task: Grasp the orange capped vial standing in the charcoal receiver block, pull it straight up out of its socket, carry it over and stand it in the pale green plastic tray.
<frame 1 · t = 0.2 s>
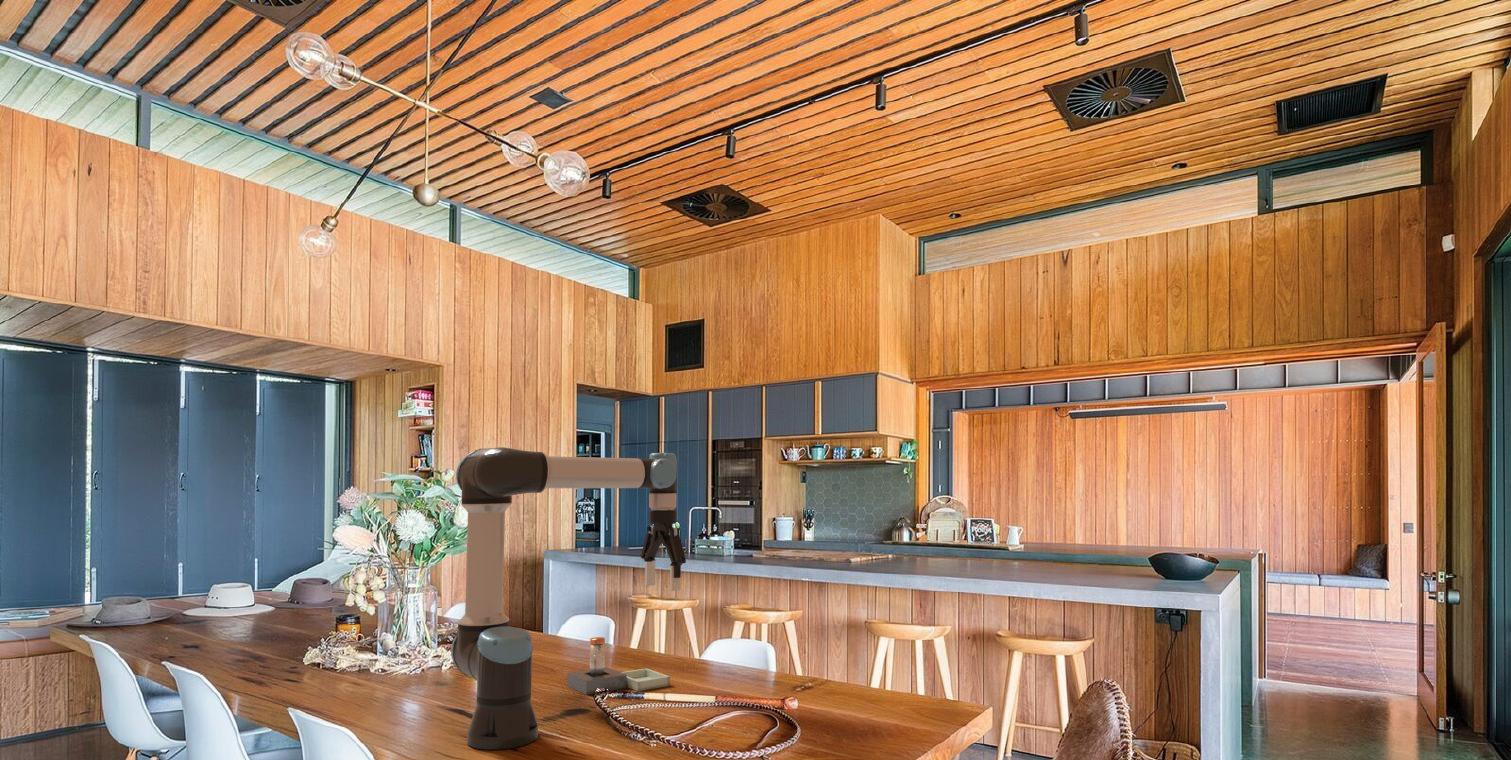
hand: (662, 587, 231), 27 cm above the table, fingers open, 13 cm apart
orange capped vial: (597, 662, 234), in the receiver block
tray: (642, 684, 236), on the table
receiver block: (596, 686, 233), on the table
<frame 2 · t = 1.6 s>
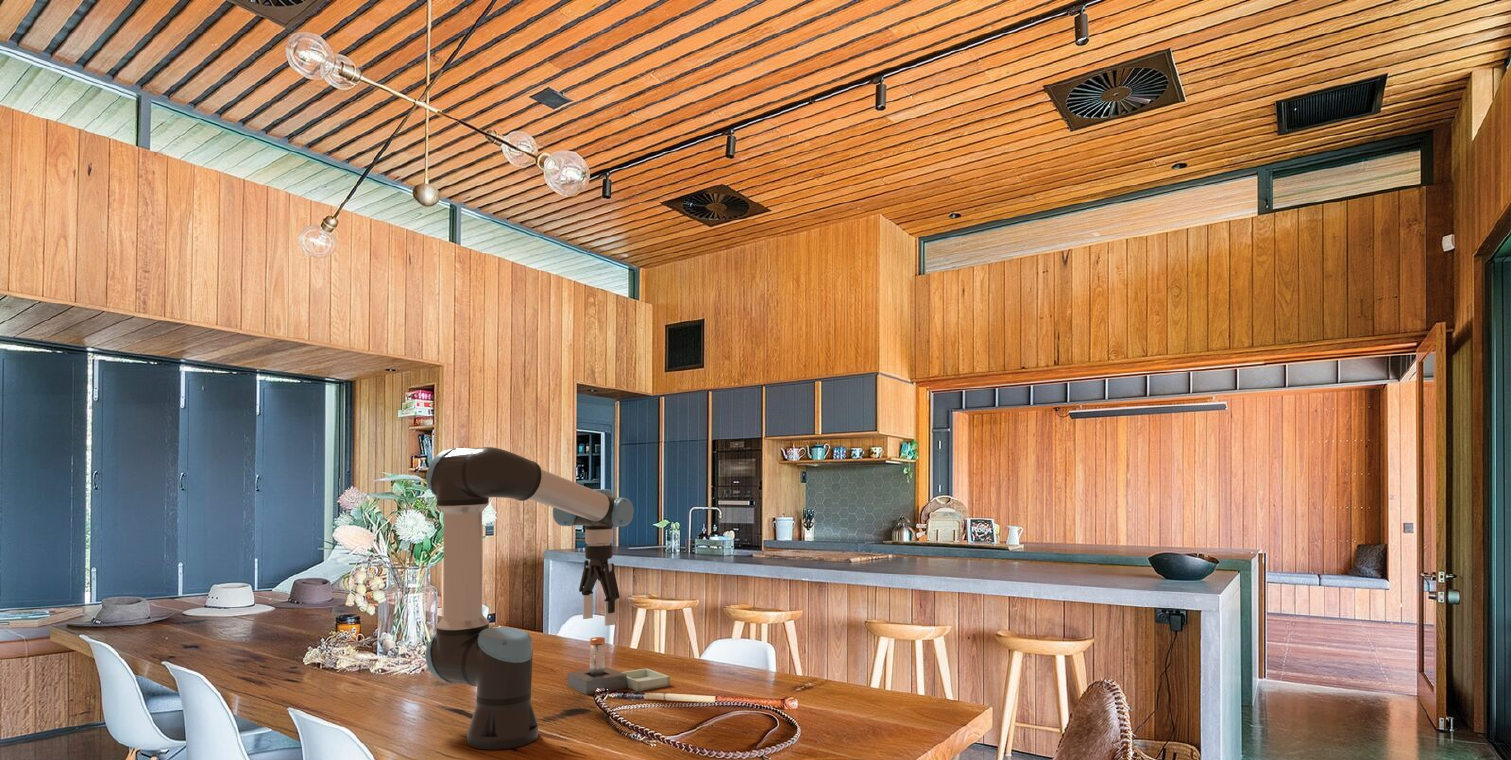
hand: (598, 621, 236), 17 cm above the table, fingers open, 13 cm apart
nothing on the table moved.
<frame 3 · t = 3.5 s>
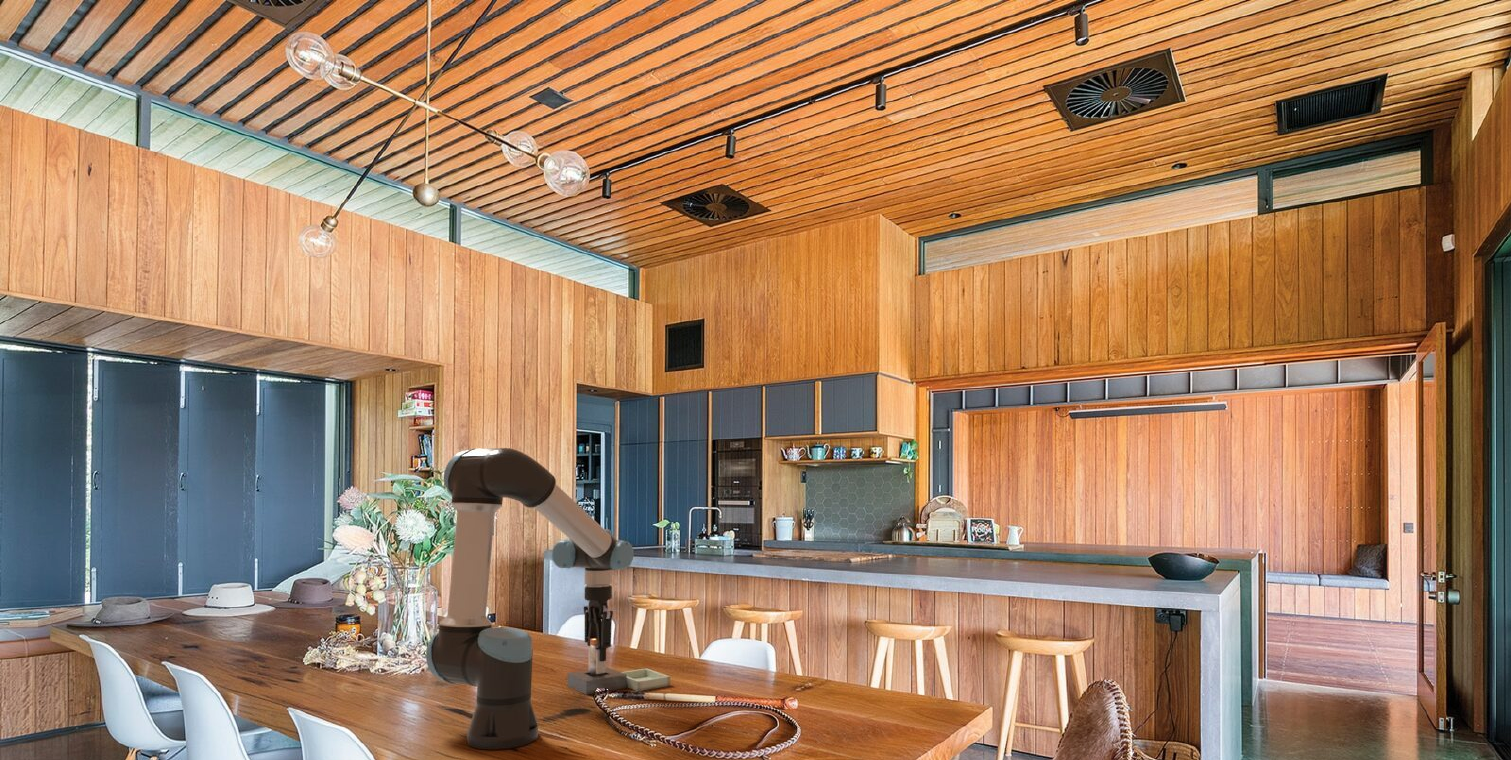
hand: (597, 671, 234), 4 cm above the table, fingers closed on orange capped vial, 4 cm apart
orange capped vial: (597, 662, 234), in the receiver block, touching gripper
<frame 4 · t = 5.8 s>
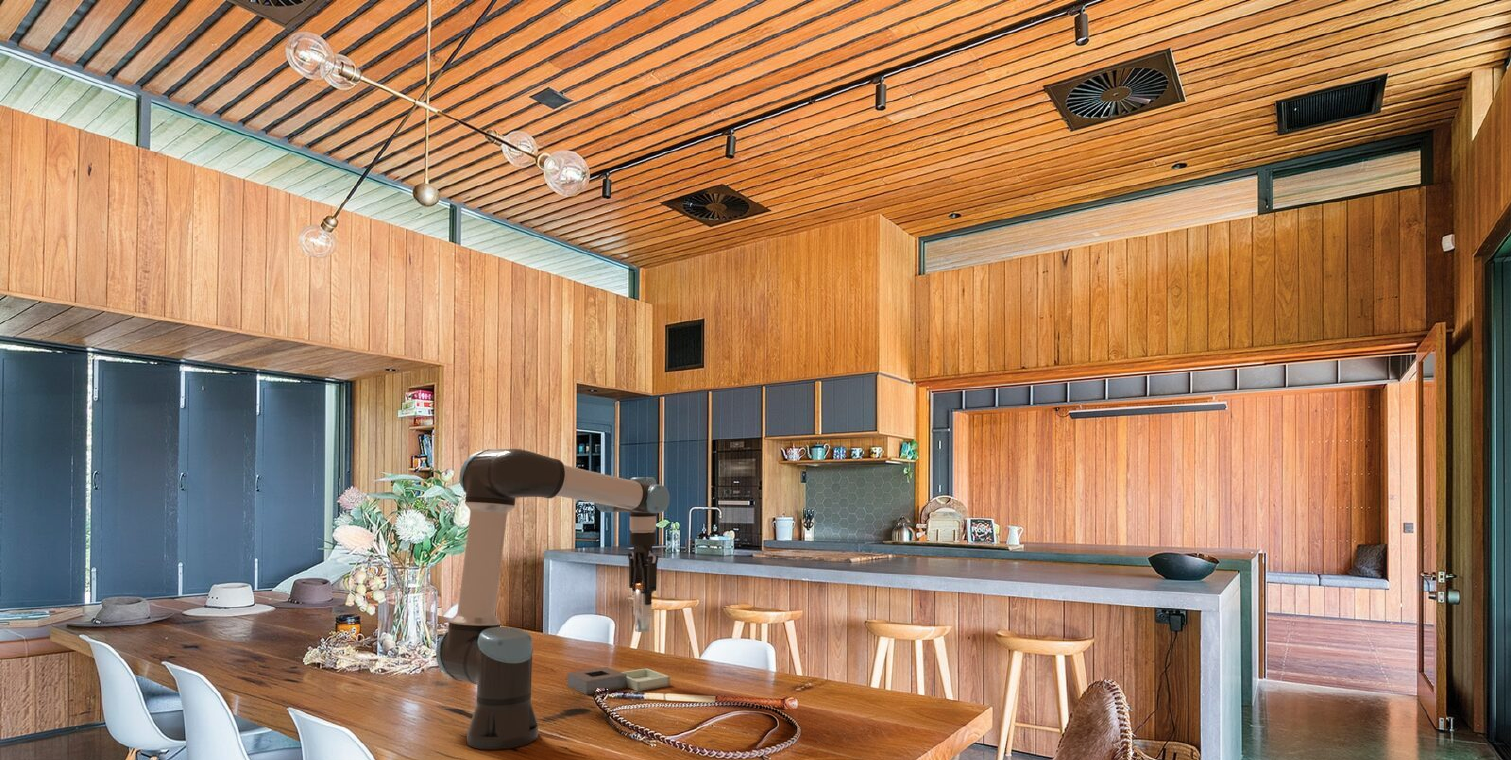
hand: (642, 615, 239), 19 cm above the table, fingers closed on orange capped vial, 4 cm apart
orange capped vial: (642, 607, 239), point 21 cm above the table, touching gripper
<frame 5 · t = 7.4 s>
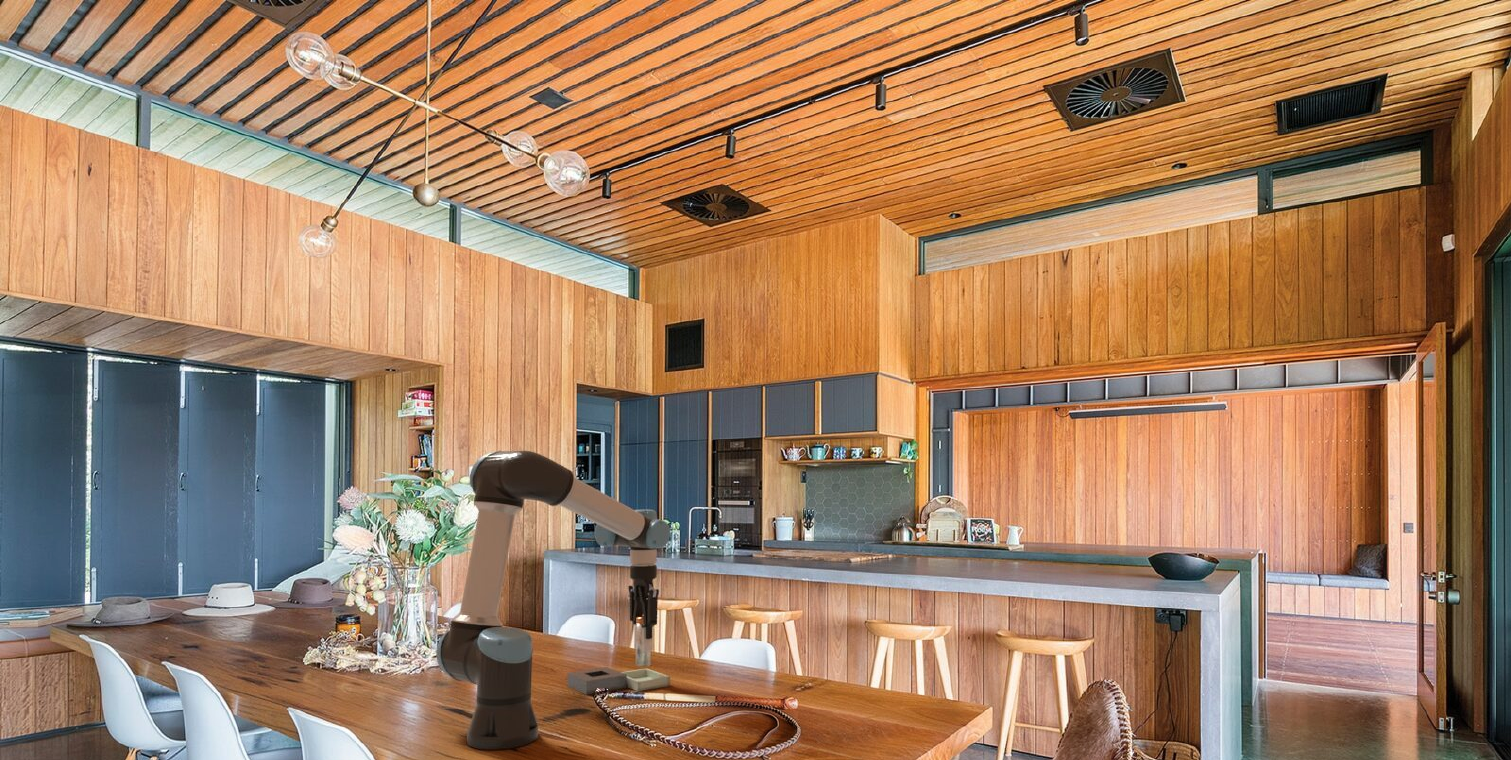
hand: (643, 649, 237), 9 cm above the table, fingers closed on orange capped vial, 4 cm apart
orange capped vial: (643, 640, 238), point 12 cm above the table, touching gripper
when the fingers open (6 cm above the table, at t = 8.4 s): orange capped vial stays where it is, resting on tray.
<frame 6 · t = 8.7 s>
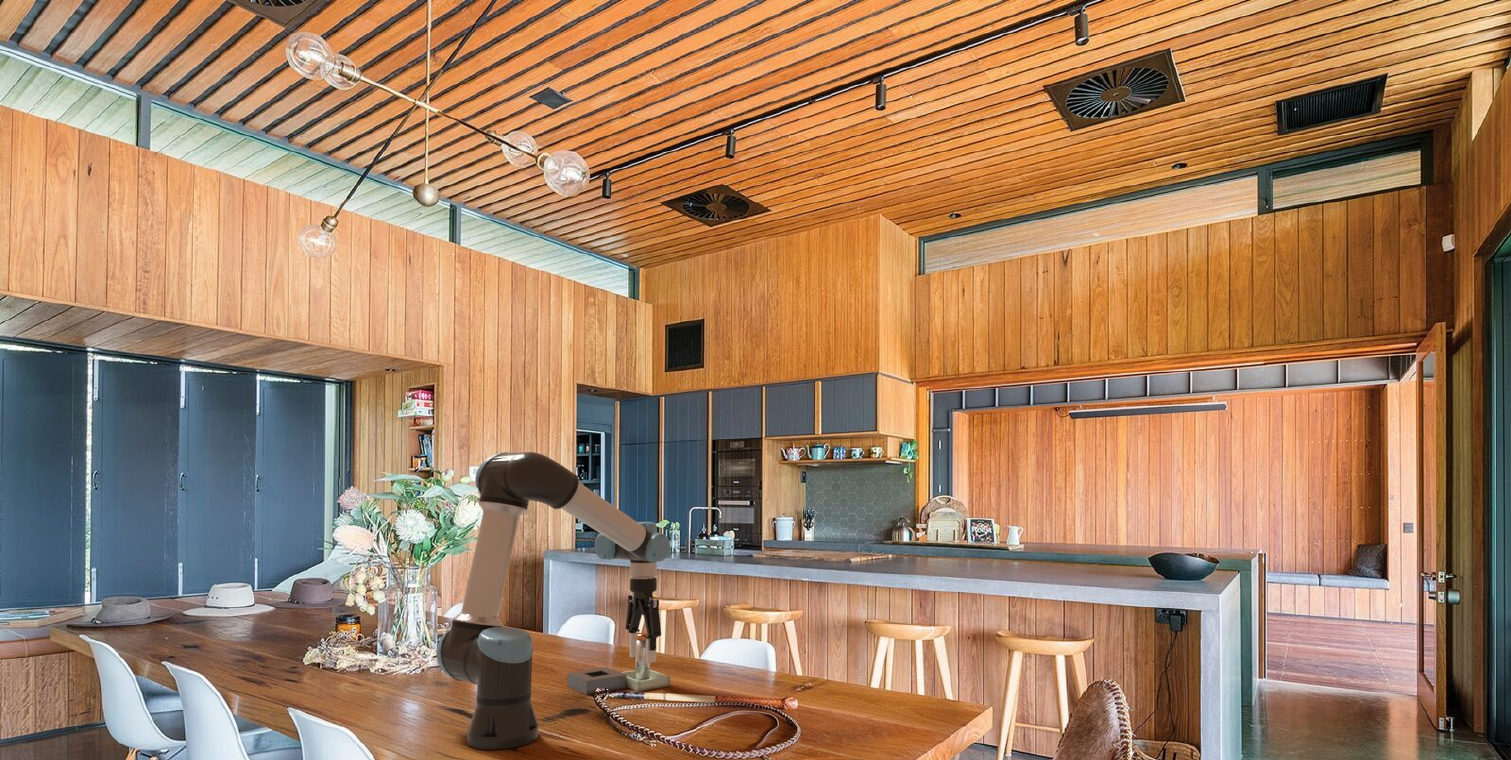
hand: (642, 659, 237), 7 cm above the table, fingers open, 9 cm apart
orange capped vial: (642, 657, 237), in the tray, point 7 cm above the table
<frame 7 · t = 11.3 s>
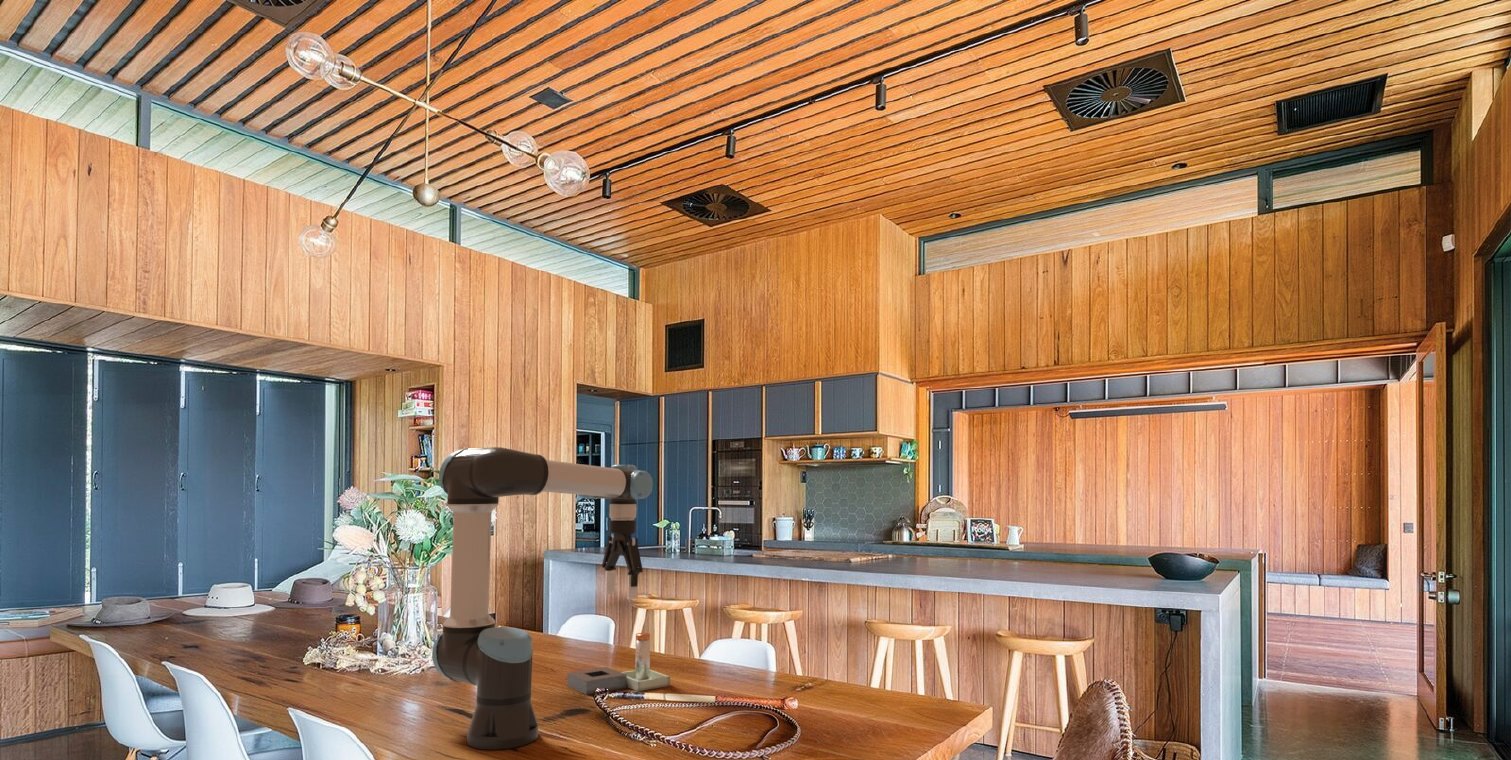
hand: (621, 596, 237), 24 cm above the table, fingers open, 13 cm apart
nothing on the table moved.
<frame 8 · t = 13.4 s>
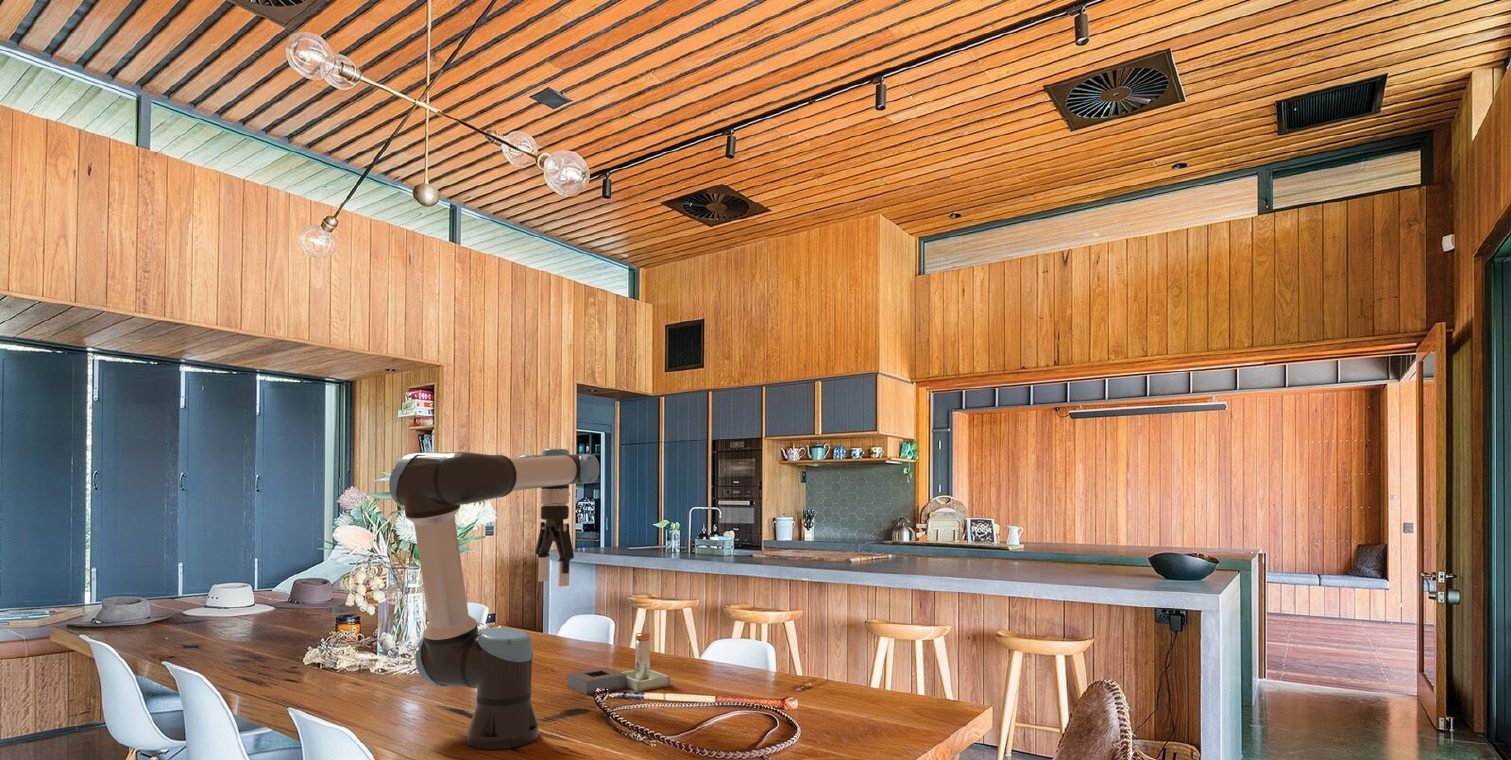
hand: (553, 583, 231), 29 cm above the table, fingers open, 13 cm apart
nothing on the table moved.
at the end: orange capped vial inside the target area on the tray (0.0 cm from its centre), point 7.1 cm above the tray's base; orange capped vial touching tray; the gripper is holding nothing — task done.
